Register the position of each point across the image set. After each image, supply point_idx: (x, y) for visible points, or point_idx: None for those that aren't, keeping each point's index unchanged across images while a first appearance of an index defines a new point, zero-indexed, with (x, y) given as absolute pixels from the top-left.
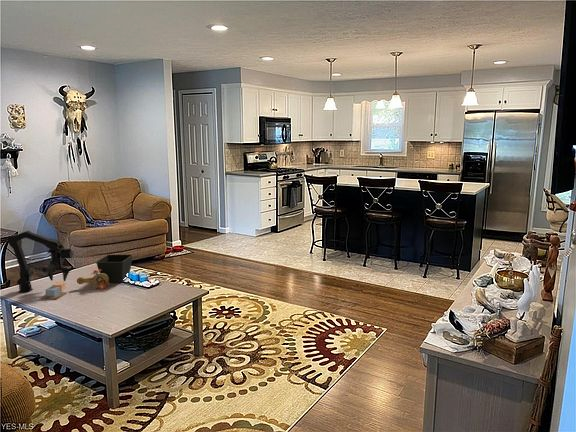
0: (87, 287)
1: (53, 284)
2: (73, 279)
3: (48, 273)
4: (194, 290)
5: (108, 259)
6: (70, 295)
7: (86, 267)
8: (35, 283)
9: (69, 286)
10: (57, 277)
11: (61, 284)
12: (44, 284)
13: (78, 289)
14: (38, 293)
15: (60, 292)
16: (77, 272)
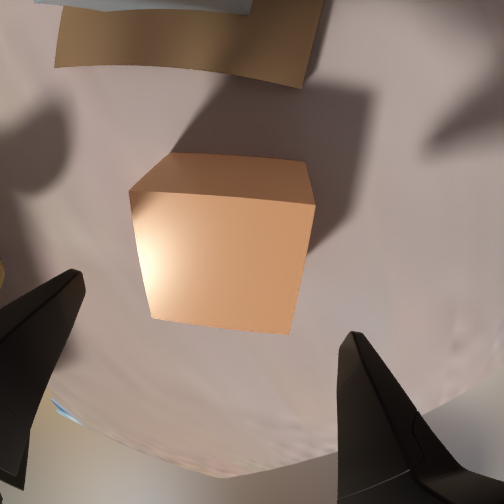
0: (8, 248)
1: (299, 241)
2: (228, 411)
3: (435, 484)
4: None
5: (23, 466)
6: (16, 27)
7: (243, 473)
8: (472, 369)
9: None
10: None
11: (140, 223)
12: (424, 360)
13: (31, 204)
14: (465, 114)
15: (97, 9)
16: (258, 457)
